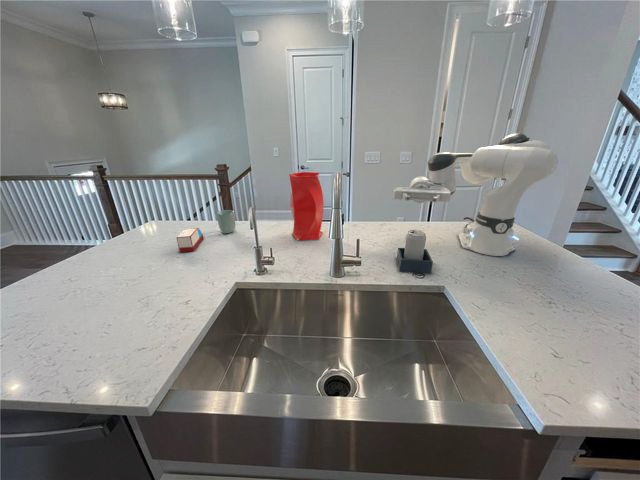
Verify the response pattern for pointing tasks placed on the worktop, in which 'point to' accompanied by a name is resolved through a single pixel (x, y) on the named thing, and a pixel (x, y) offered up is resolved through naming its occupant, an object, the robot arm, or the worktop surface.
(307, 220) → the vase
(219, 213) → the cup
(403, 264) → the tote
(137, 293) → the worktop surface
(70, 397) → the worktop surface
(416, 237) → the beverage can
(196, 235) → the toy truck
